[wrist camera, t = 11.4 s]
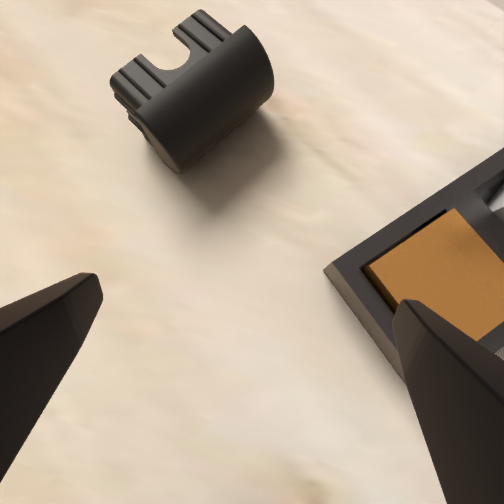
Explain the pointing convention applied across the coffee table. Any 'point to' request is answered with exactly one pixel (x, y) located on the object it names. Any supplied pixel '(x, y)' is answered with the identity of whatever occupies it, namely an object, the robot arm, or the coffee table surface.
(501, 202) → the white soap bottle
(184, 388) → the coffee table surface
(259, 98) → the end cap
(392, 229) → the two-compartment sponge tray
